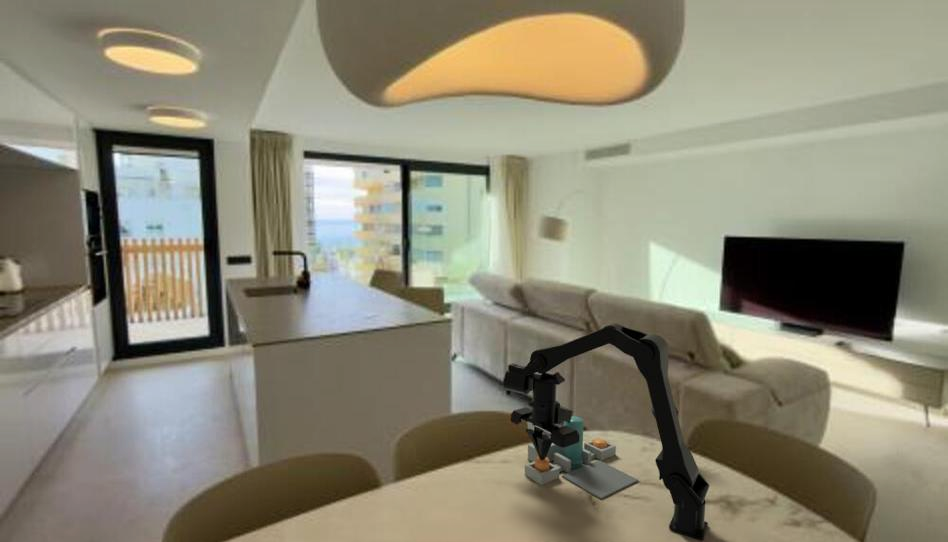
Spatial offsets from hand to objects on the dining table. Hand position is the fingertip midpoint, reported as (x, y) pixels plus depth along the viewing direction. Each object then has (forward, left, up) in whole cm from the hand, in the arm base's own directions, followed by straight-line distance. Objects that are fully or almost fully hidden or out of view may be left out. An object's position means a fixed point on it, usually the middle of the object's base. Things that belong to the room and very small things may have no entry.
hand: (542, 459), depth 116 cm
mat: (+7, -12, -4) cm, 15 cm away
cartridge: (+10, -4, -4) cm, 12 cm away
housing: (+11, -1, -4) cm, 12 cm away
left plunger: (0, 0, -3) cm, 3 cm away
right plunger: (+21, -7, -4) cm, 22 cm away
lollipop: (+31, -22, -4) cm, 38 cm away
